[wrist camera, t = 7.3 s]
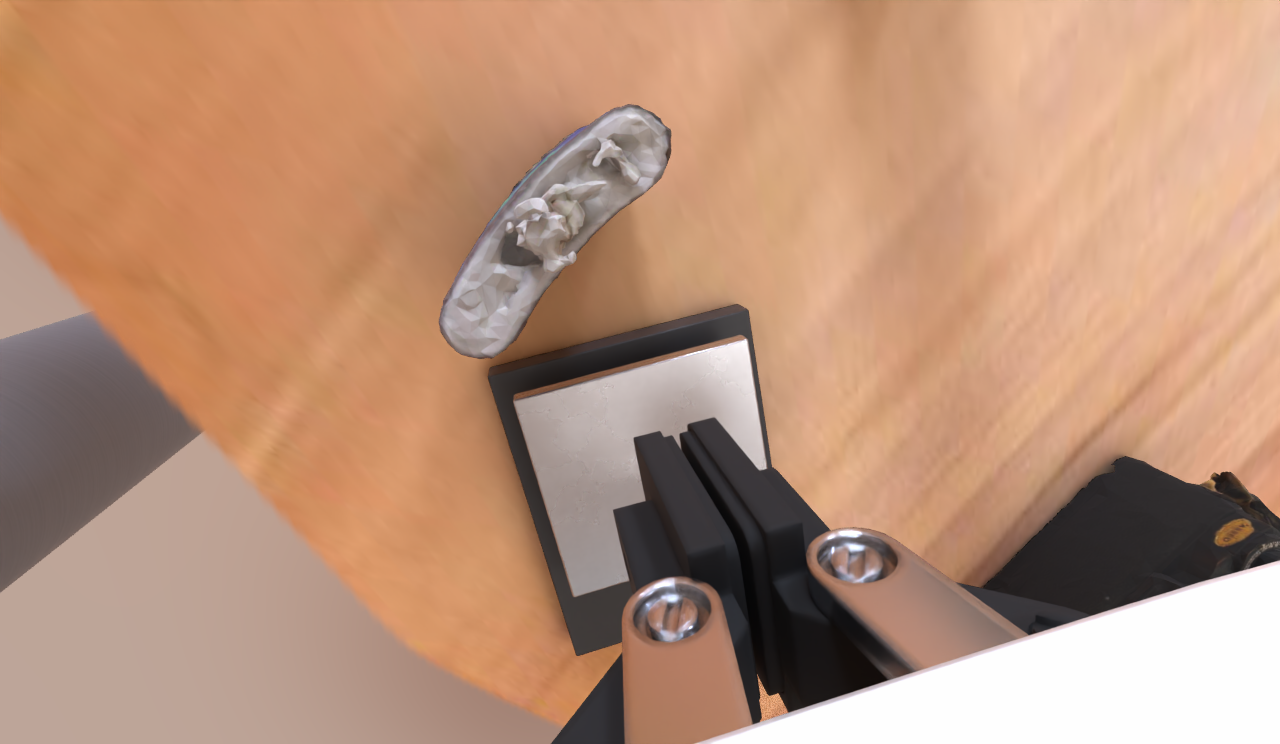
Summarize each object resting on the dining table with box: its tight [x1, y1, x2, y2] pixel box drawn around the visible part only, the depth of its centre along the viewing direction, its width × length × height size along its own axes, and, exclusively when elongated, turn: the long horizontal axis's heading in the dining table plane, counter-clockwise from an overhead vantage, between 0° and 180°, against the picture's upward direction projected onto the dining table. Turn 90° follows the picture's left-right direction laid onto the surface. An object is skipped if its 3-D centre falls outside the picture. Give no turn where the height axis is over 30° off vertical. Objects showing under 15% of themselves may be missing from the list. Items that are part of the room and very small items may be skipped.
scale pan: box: [513, 335, 768, 597], centre depth 26 cm, size 10×10×1 cm
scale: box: [488, 304, 772, 656], centre depth 29 cm, size 12×16×3 cm
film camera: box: [983, 456, 1280, 616], centre depth 33 cm, size 18×12×10 cm
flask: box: [439, 104, 671, 359], centre depth 20 cm, size 9×3×11 cm, turn 137°
